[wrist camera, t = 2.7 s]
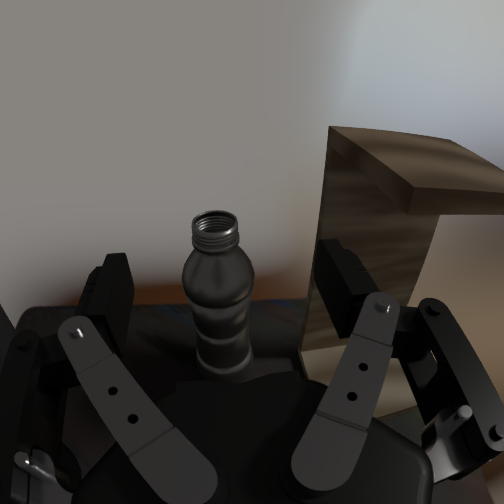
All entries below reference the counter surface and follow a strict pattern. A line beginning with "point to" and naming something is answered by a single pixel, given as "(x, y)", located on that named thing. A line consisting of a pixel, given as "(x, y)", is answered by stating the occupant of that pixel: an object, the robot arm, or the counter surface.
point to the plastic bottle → (219, 297)
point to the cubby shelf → (389, 228)
